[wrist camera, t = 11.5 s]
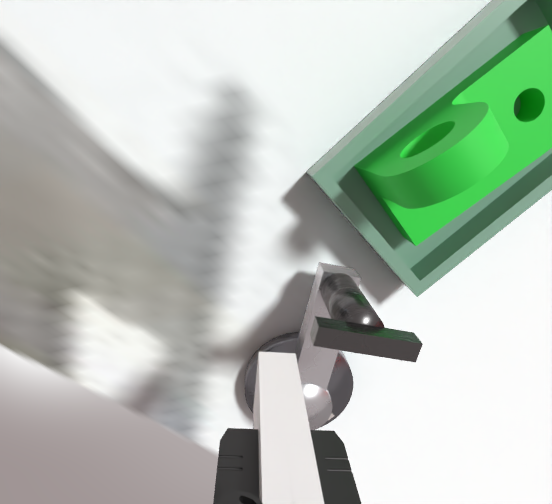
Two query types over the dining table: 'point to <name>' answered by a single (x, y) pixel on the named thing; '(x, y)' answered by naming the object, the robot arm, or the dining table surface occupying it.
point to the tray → (404, 108)
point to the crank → (341, 335)
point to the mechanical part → (466, 140)
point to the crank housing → (337, 385)
